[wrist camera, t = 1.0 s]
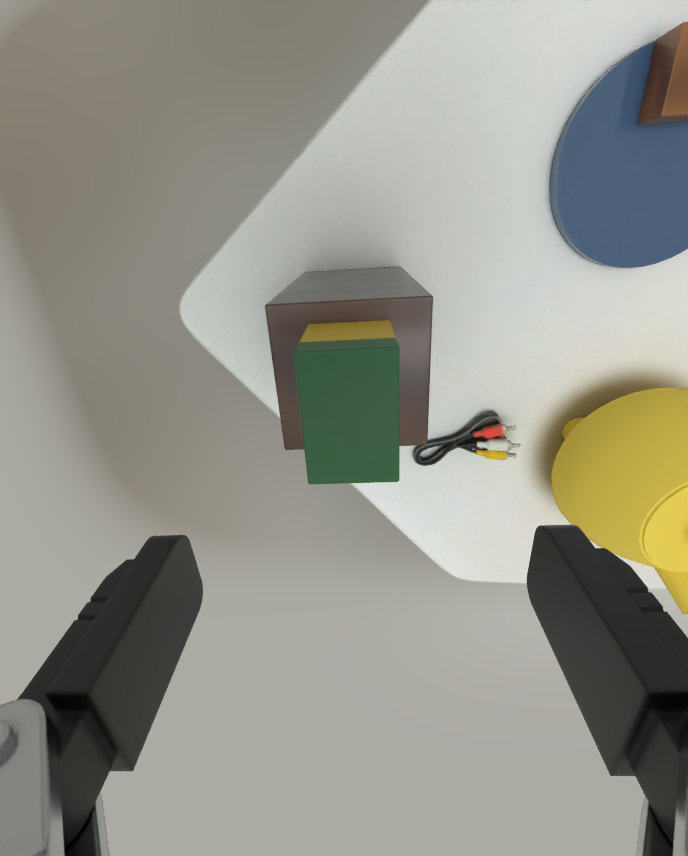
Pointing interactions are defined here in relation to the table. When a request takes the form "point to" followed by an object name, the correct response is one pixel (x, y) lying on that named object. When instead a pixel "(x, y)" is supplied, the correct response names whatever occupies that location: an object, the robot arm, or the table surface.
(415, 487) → the table surface
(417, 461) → the composite cable
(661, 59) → the brown square block
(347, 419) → the sponge
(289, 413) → the tall dark wooden block
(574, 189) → the plate
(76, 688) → the robot arm
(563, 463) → the teapot
